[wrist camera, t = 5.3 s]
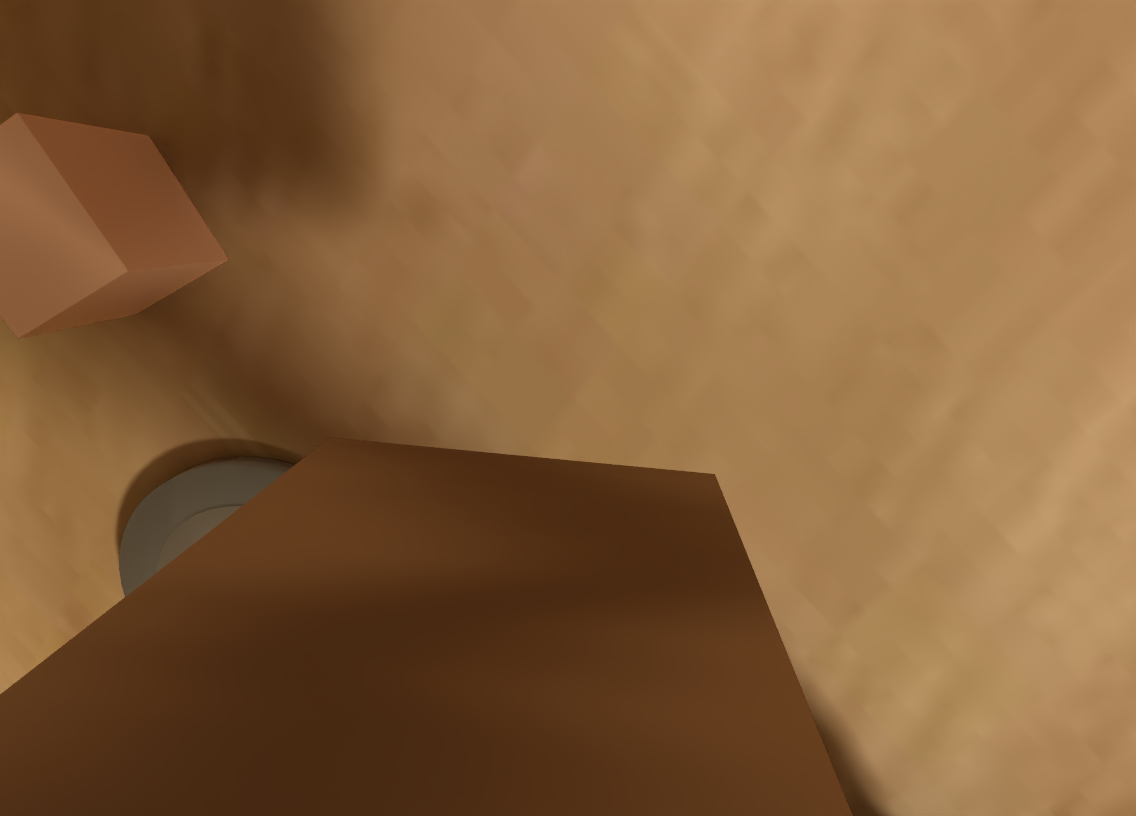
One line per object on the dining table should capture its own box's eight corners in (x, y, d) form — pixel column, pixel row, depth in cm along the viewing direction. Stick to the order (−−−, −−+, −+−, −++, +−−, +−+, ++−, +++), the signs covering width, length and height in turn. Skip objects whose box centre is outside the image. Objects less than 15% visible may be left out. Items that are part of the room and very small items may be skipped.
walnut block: (714, 474, 7) (918, 978, 2) (665, 764, 9) (729, 1409, 4) (329, 437, 7) (-178, 832, 3) (351, 727, 9) (61, 1293, 4)
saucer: (411, 471, 20) (402, 482, 19) (417, 712, 23) (410, 731, 22) (111, 443, 20) (89, 452, 19) (161, 683, 24) (145, 700, 23)
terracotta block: (150, 136, 17) (17, 112, 13) (230, 259, 18) (128, 270, 14) (56, 199, 18) (-95, 194, 14) (138, 314, 19) (18, 338, 15)
